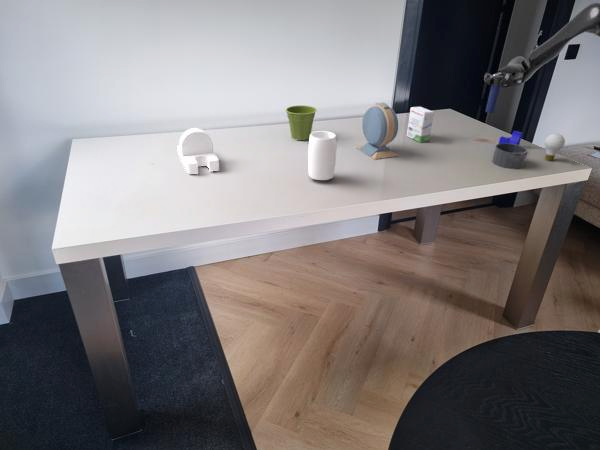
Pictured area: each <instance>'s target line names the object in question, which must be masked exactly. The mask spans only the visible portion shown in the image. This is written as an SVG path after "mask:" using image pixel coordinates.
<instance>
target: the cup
mask: <svg viewBox="0 0 600 450" xmlns="http://www.w3.org/2000/svg"><path fill="white" fill-rule="evenodd" d="M307 160H308V161H307V169H308V172H307V173H308V177H309V178H311V179H312V180H315V181H316V180H317V181H329V180H331V179H333V178H334V177H335V171H336V161H337V135H336V134H335V133H334V132H332V131H329V130H316V131H311V134H310V138H309V139H308V150H307Z"/></svg>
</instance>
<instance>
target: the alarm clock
mask: <svg viewBox="0 0 600 450" xmlns="http://www.w3.org/2000/svg"><path fill="white" fill-rule="evenodd" d="M361 125H362V127H361V128H362V133H363V136H364V139H365V140H366V141H367V142H366V143H365V144H363V145H360V146H358V147H356V149H357V148H358V149H359V150H358V149H357V150H358V151H360V150H361V151H360V152H362V153H363V152H364V153H363V154H365V153H366V154H367V156H368V155H369V156H370V158H371V157H372V158H371V159H373V160H374V159H376V160H381V159H380V158H382V159H387V158H388V157H389V158H395V157H399V155H398V154H396V153H395V151H393V150H392V149H390V148H389V147H387V145H388V144H390V143H392V142H393V141H394V140H395V139H396V137H397V135H398V131H399V119H398V116H397V113H396V111H395V110H394V109H393V108H392V107H390V105H388V103H385V102H376V103H375V104H374V105H372V106H371V107H369V108H368V109H367V110H366V111H365V112H364V115H363V117H362V123H361ZM366 154H365V155H366ZM369 156H368V157H369Z"/></svg>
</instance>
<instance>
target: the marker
mask: <svg viewBox="0 0 600 450" xmlns="http://www.w3.org/2000/svg"><path fill="white" fill-rule="evenodd" d="M503 77H504V76H501V75H494V76H493V80H492V84H491V85H490V90H489V94H488V98H487V103H486V107H485V113H487V114H494V113H495V111H496V108H497V104H498V100H499V96H500V91H501V88H502V87H499V84H500V81H501V80H502V79H503Z"/></svg>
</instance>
